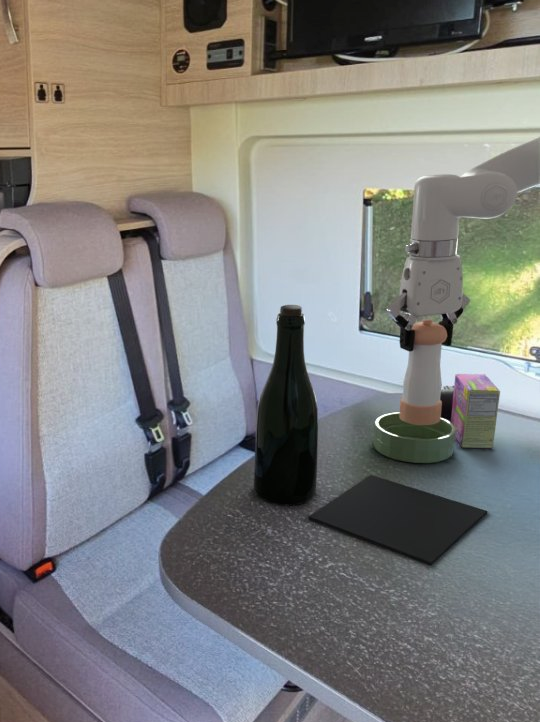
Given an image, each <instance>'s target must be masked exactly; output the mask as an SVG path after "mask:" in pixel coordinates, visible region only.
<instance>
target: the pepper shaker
mask: <svg viewBox="0 0 540 722" xmlns="http://www.w3.org/2000/svg"><path fill="white" fill-rule="evenodd" d="M412 329H413V330H414V331H415V337H414V350H413V351H410V352H409V351H408V360H407V361H408V362H407V366H406V370H405V374H404V379H403V383H402V397H401V398H400V403H399V412H400V415H399V418H400V419H401V420H402V421H404V422H407V423H410V424H415V425H432V424H436V423H438V422H439V421H440V420H441V409H442V401H441V400H440V395H441V390H442V372H441V358H442V355H441V354H442V347H443V344H442V343H443V342H444V341H445V340H446V338H447V331H446V329H445V328H444V327H443V326H441V325H439V323H436V322H433V321H432V320H431V319H429V318H426V319H423V320H422V321H421V322H420V321H419V322H415V323H414V325H413V327H412Z"/></svg>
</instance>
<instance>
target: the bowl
mask: <svg viewBox="0 0 540 722" xmlns="http://www.w3.org/2000/svg"><path fill="white" fill-rule="evenodd" d="M399 415H400V411H399V412H398V411H397V412H391V413H385V414H382V415H380V416H379V417H377V418H376V419H375V421H374V429H373V439H372V440H373V442H372V445H373V447H374V449H375V450H376V451H377V452H378V453H379V454H381V455H383V456H385V457H388V458H390V459H393V460H397V461H401V462H406V463H413V464H431V463H439V462H442V461H445V460H448V459H449V458H450V457H452V456H453V454H454V450H455V449H454V448H455V441H456V440H455V439H456V437H455V433H456V428H455V426H454V425H453V424H452V423H451V421H450V420H446V419H443V418H441V420H440V421H439V422H438V423H436V424H432V425H415V424H410V423H407V422H404V421H402V420H401V419H400V418H399Z"/></svg>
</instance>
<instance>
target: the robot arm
mask: <svg viewBox="0 0 540 722" xmlns="http://www.w3.org/2000/svg"><path fill="white" fill-rule="evenodd" d="M539 185H540V136H539V137H537V138H535V139H534V138H533V139H532V140H530V141H527V142H524V143H523V144H520V145H518V146H515V147H513V148H511V149H508V150H506V151H505V152H504V151H503V152H502V153H500V154H497V155H496V156H494V157H492V158H490V159H488V160H486V161H484V162H482V163H480V164H477V165H476V166H474V167H472V168H470V169H469V170H467V171H466V172H464V173H463V174H461V176H459V175H457V174H449V173H447V174H446V173H445V174H443V173H442V174H428V175H423V176H420V177H419V178H418V179H416V181H415V183H414V188H413V202H412V215H411V230H410V240H409V242H410V243H409V244H406V245H405V247H404V252H405V253H406V254H409V256H408V257H406V259H405V262H404V266H403V270H402V273H401V279H400V285H399V286H400V287H399V295H398V296H397V298H395V300H394V301H393V302H392V303H390V304H389V306H387V308H386V313H388V315H389V316H390V318H392V321H393V322H394V323H395V324H396V325H397V327H398V328H399V329H400V330H399V348H400V349H403V350H405V351H407V352H408V353H409V352H410V351H413V350H414V337H415V331H414V330H413V329H412V327H413V325H414V324H416V321H417V320H418V318H419V317H429V316H437V315H439V316H440V318H441V320H439V321H438V324H439V325H441V326H443V327H444V328H445V329H446V331H447V338H446V340H445V341H444V342H443V343H442V346H443V345H444V346H446V347H451V346H452V343H453V341H452V339H453V336H454V335H453V333H454V325H455V324H457V322H458V319H459V318H460V317H461V315H463V314H464V310H465V309H466V308H467V307H468V305H469V304H470V302H471V299H470V298H469V297H468V296H467V295H466V294H465V293H464V291H463V290H464V287H463V286H464V284H463V283H464V281H463V280H464V278H463V276H464V275H463V264H462V259H461V255H460V254H457V251H458V242H459V241H458V239H459V238H458V237H459V230H460V229H459V227H460V218H472V219H484V220H487V219H488V220H489V219H496V218H499V217H501V216H503V215H506V213H507V212H509V211H510V210H511V209H513V206H514V205H515V203H516V201H517V198H518V193H519V192H521V191H524V190H526V189H529V188H531V187H535V186H539ZM400 312H402V313H400Z"/></svg>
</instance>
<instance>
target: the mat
mask: <svg viewBox="0 0 540 722" xmlns="http://www.w3.org/2000/svg"><path fill="white" fill-rule="evenodd" d="M487 514H488V510H487V509H482V508H479V507H476V506H473V505H470V504H466V503H463V502H460V501H457V500H454V499H450V498H447V497H444V496H440V495H438V494H434V493H431V492H427V491H424V490H422V489H419V488H418V489H417V488H415V487H412V486H409V485H405V484H403V483H399V482H396V481H392V480H389V479H386V478H383V477H380V476H376V475H373V474H370V475H368V476H367V477H366V478H364V479H363V480H361V481H359V482H358V483H357V484H355V485H354V486H352V487H351V488H349V489H348V490H346V491H344V492H343V493H341V494H340V495H339V496H337V497H335V498H334V499H332V500H331V501H329V502H328V503H326V504H325V505H324V506H322V507H320V508H319V509H317V510H316V511H315V512H313V513H312V514H310V515H309V516H308V519H309V520H311V521H313V522H316V523H319V524H322V525H324V526H326V527H329V528H332V529H333V530H337V531H340V532H342V533H345V534H347V535H351V536H353V537H356V538H358V539H361V540H362V541H366V542H368V543H371V544H374V545H376V546H379V547H381V548H384V549H387V550H389V551H392V552H395V553H398V554H400V555H403V556H405V557H408V558H410V559H413V560H416V561H418V562H421V563H424V564H426V565H429V566H432V565H433V564H434V563H435V562H436V561H438V560H439V559H440V558H441V557H442V556H443V555H444V554H445V553H446V552H447V551H448V550H449V549H450V548H451V547H453V546H454V545H455V544H456V543H458V541H459V540H460V539H462V537H463V536H465V534H467V533H468V532H469V531H470V530H471V529H472V528H473V527H475V525H477V524H478V523H479V522H480V521H481V520H482V519H483V518H484V517H485V516H486V515H487Z"/></svg>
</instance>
